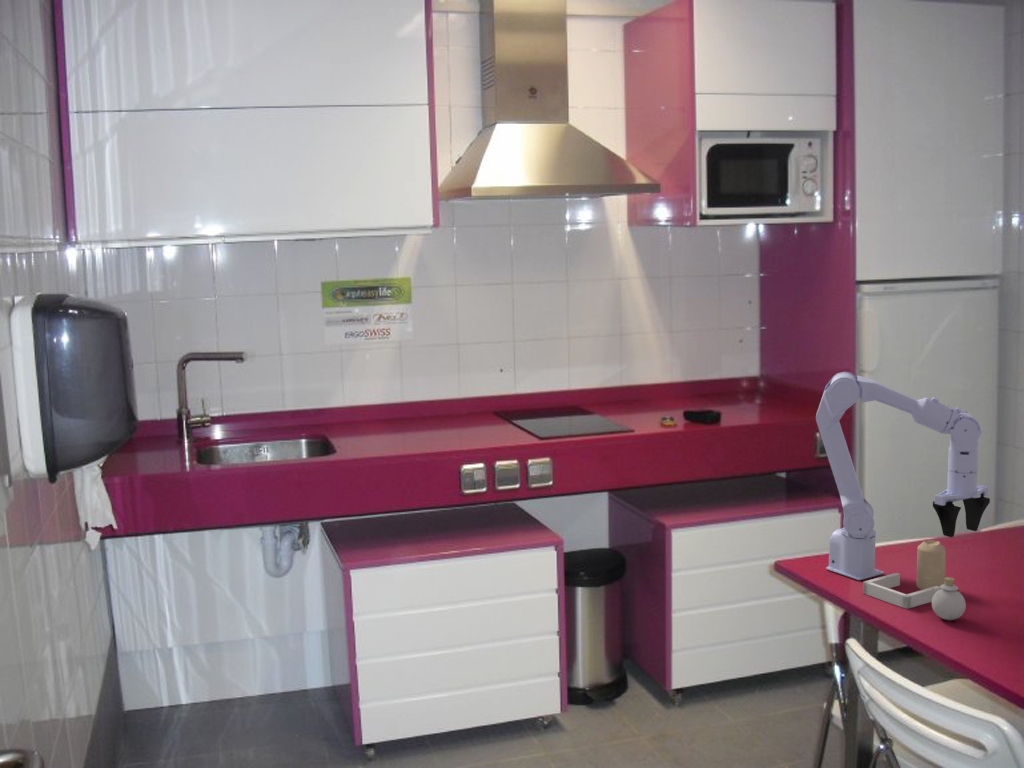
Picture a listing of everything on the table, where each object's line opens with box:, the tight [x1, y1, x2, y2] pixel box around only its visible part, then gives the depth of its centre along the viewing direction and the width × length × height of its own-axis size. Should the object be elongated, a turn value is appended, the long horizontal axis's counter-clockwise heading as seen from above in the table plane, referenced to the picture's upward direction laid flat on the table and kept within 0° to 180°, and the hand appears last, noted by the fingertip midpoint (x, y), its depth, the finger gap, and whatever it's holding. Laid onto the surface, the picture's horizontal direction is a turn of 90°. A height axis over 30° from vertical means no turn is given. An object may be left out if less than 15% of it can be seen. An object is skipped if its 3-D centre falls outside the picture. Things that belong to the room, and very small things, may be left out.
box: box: [862, 572, 941, 610], centre depth 214 cm, size 11×10×2 cm
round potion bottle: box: [926, 569, 967, 621], centre depth 200 cm, size 6×7×10 cm
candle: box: [915, 539, 947, 590], centre depth 217 cm, size 6×6×10 cm
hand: (960, 533), depth 221 cm, fingers open, 7 cm apart
